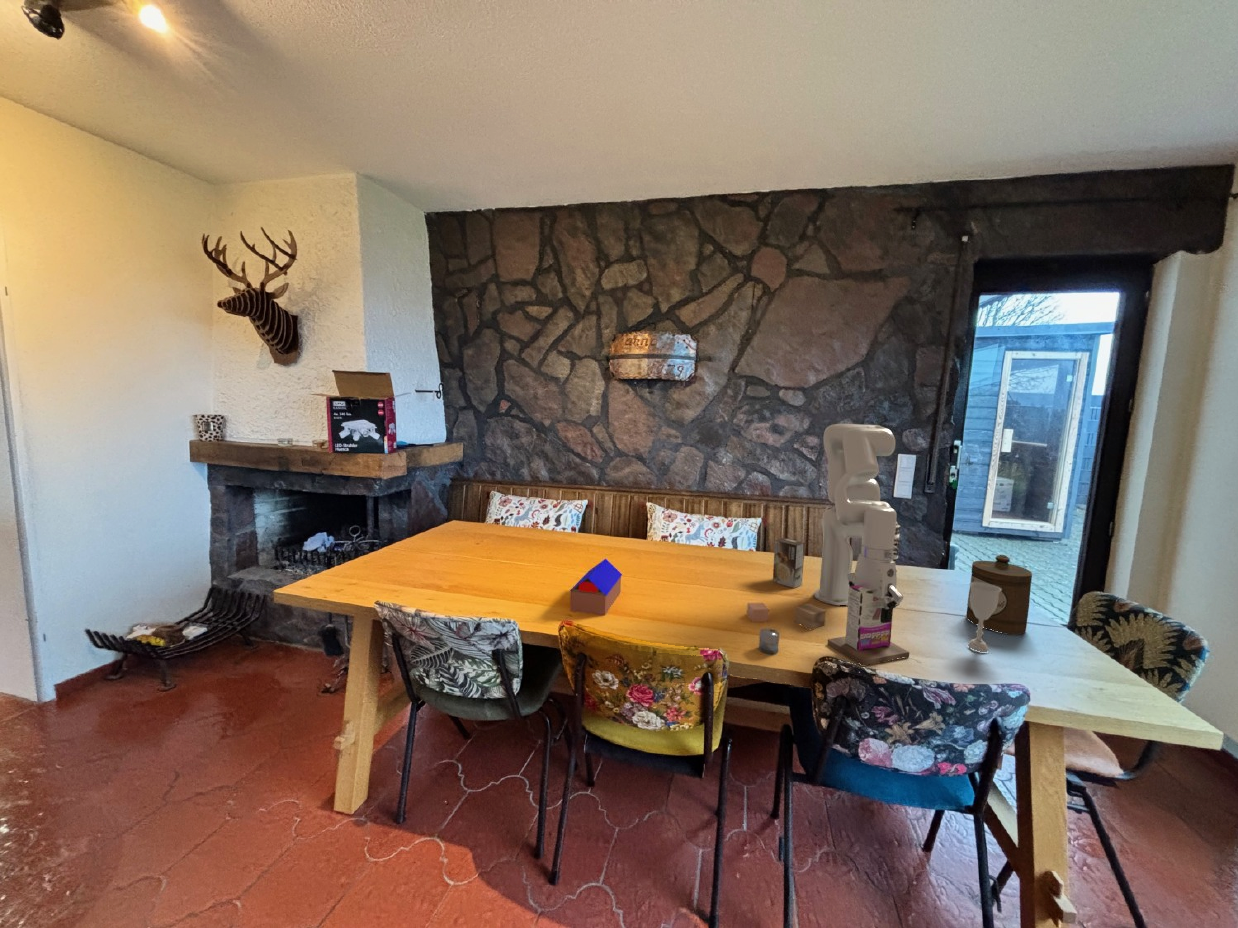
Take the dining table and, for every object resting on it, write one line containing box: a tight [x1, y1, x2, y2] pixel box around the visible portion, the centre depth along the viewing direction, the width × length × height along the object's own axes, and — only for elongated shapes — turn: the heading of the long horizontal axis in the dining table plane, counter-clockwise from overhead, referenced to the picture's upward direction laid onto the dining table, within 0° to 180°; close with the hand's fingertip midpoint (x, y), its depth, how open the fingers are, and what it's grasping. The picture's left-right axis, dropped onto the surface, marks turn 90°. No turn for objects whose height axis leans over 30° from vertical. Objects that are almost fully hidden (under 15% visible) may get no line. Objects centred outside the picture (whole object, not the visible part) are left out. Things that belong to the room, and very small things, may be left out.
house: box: [569, 558, 623, 616], centre depth 161 cm, size 12×20×12 cm, turn 166°
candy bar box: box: [845, 585, 894, 651], centre depth 133 cm, size 11×5×16 cm, turn 107°
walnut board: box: [827, 635, 910, 666], centre depth 133 cm, size 16×12×2 cm
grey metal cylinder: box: [758, 627, 780, 656], centre depth 132 cm, size 5×5×5 cm
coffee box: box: [772, 537, 806, 589], centre depth 182 cm, size 9×6×16 cm
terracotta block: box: [746, 602, 770, 623], centre depth 152 cm, size 5×5×4 cm
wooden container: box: [965, 554, 1033, 635], centre depth 151 cm, size 15×15×22 cm
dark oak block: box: [794, 603, 827, 631], centre depth 149 cm, size 6×6×5 cm
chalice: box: [967, 582, 1002, 652], centre depth 135 cm, size 7×7×18 cm
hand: (870, 614), depth 132 cm, fingers open, 9 cm apart
